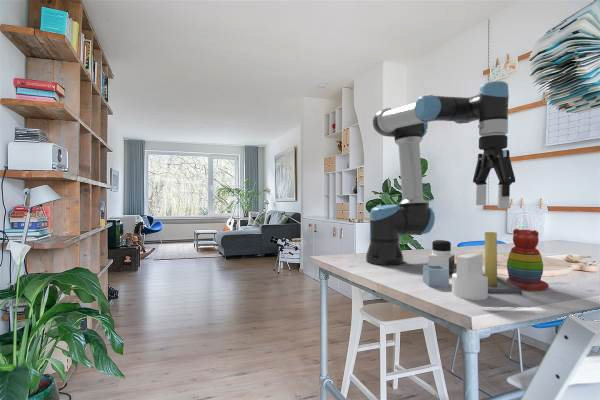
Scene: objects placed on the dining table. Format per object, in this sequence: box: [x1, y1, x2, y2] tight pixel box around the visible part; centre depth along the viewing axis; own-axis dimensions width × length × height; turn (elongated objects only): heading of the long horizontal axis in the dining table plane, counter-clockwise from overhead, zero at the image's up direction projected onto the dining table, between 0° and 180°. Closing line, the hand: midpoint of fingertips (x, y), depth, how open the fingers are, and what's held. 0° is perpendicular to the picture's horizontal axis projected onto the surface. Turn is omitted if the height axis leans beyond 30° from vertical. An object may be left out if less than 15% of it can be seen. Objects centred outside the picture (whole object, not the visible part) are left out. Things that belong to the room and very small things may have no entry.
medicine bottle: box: [427, 239, 455, 276], centre depth 122 cm, size 7×7×12 cm
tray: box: [488, 275, 523, 296], centre depth 105 cm, size 14×10×2 cm
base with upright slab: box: [451, 252, 489, 301], centre depth 97 cm, size 9×9×12 cm
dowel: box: [484, 231, 498, 287], centre depth 105 cm, size 3×3×16 cm
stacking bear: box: [506, 228, 549, 292], centre depth 106 cm, size 11×10×18 cm
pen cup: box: [422, 264, 450, 288], centre depth 108 cm, size 6×6×6 cm
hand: (491, 206), depth 104 cm, fingers open, 13 cm apart
